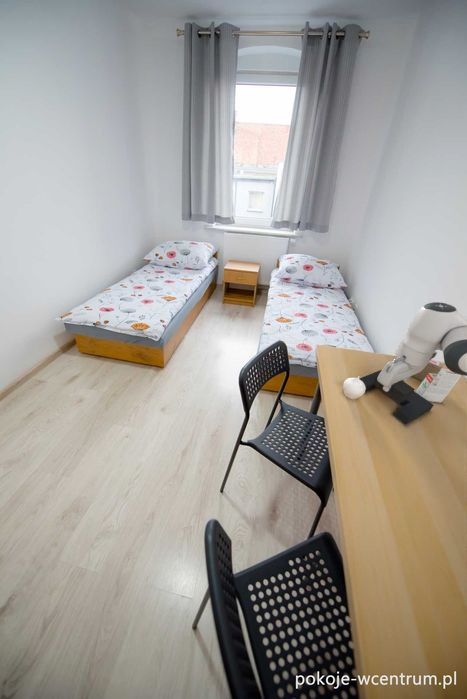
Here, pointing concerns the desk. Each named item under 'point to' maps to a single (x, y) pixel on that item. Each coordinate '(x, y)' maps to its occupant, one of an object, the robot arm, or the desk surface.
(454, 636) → the desk surface
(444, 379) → the ink box
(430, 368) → the ink box
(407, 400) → the big pad
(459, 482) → the desk surface
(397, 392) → the small pad
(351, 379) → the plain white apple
